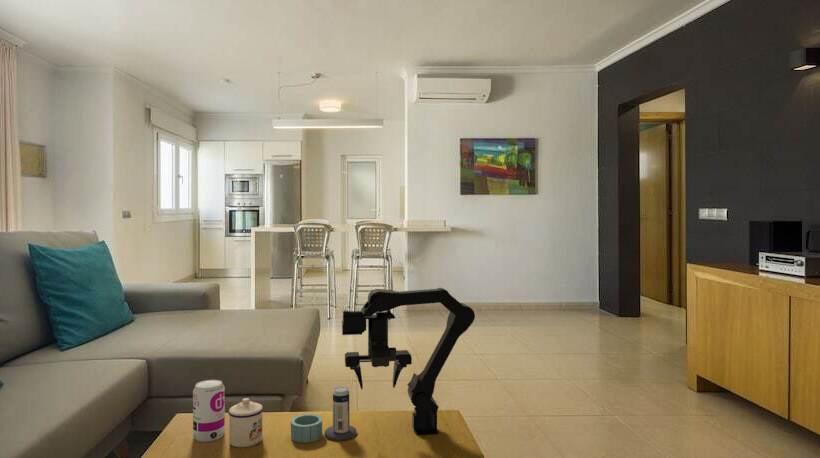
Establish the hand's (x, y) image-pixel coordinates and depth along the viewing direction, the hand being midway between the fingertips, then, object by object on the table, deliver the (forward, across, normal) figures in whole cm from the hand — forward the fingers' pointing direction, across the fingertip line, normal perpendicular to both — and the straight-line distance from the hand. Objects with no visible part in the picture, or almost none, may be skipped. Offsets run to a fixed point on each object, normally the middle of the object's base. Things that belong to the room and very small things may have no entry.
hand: (377, 388), depth 146 cm
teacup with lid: (+13, -36, +2) cm, 38 cm away
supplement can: (+13, -47, +5) cm, 49 cm away
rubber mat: (+13, -10, +1) cm, 17 cm away
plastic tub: (+13, -20, +1) cm, 24 cm away
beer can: (+12, -10, +1) cm, 16 cm away
